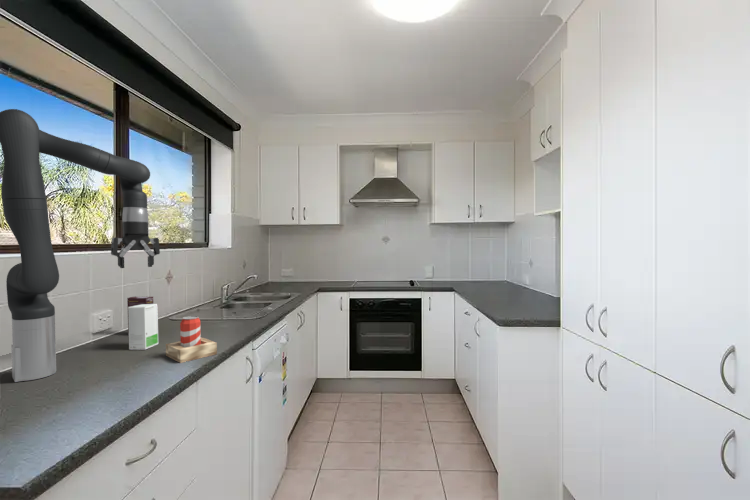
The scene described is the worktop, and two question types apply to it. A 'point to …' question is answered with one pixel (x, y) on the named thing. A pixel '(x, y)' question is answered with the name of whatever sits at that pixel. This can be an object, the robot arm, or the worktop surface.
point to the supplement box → (138, 302)
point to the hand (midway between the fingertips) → (136, 267)
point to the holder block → (191, 350)
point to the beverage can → (190, 331)
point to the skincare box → (143, 326)
